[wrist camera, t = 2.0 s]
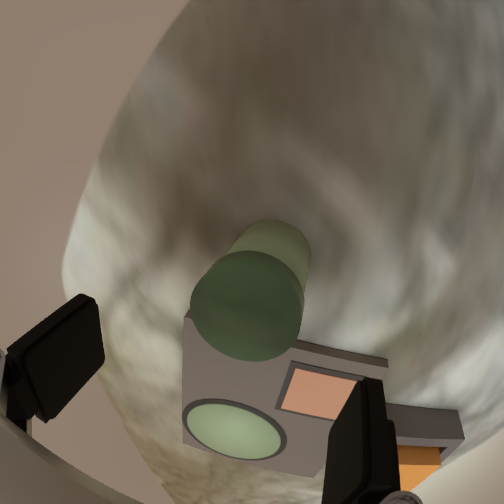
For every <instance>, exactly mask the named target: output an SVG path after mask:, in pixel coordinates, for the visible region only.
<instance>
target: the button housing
mask: <svg viewBox="0 0 504 504" xmlns="http://www.w3.org/2000/svg"><path fill="white" fill-rule="evenodd" d="M385 404H386V412H387V419H389V420H392V421H393V422H394V425H395V431H396V440H397V445H408V446H427V447H439V453H440V459H441V462H442V461H443V460H444V459H446V458H447V457H448V456H449V455H450V454H451V453H452V452H453V451H454V450H455V449H456V448H457V447H458V446H459V445H460V444H461V443H462V442H463V441H464V440H465V437H464V433H463V429H462V425H461V421H460V417H459V413H458V411H454V410H441V409H430V408H420V407H411V406H403V405H395V404H388V403H385Z"/></svg>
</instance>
